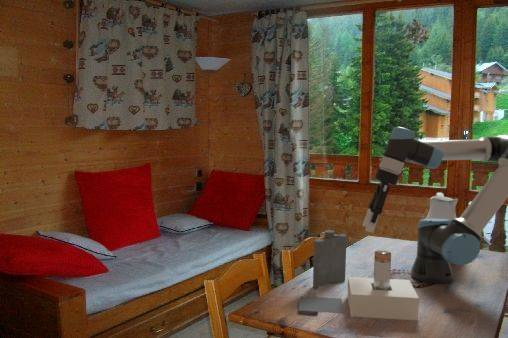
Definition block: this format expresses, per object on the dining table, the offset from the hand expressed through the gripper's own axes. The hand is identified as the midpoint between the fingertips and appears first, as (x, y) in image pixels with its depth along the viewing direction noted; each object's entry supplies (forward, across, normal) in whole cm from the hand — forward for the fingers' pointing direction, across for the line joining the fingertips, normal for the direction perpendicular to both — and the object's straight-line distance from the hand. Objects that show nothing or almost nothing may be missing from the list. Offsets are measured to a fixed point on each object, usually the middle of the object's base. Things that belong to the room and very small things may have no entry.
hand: (367, 229), depth 166 cm
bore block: (+22, +11, +12) cm, 27 cm away
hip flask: (+25, -12, -5) cm, 28 cm away
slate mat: (+28, +11, -6) cm, 31 cm away
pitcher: (+5, -56, +40) cm, 69 cm away
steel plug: (+21, +11, +11) cm, 26 cm away
